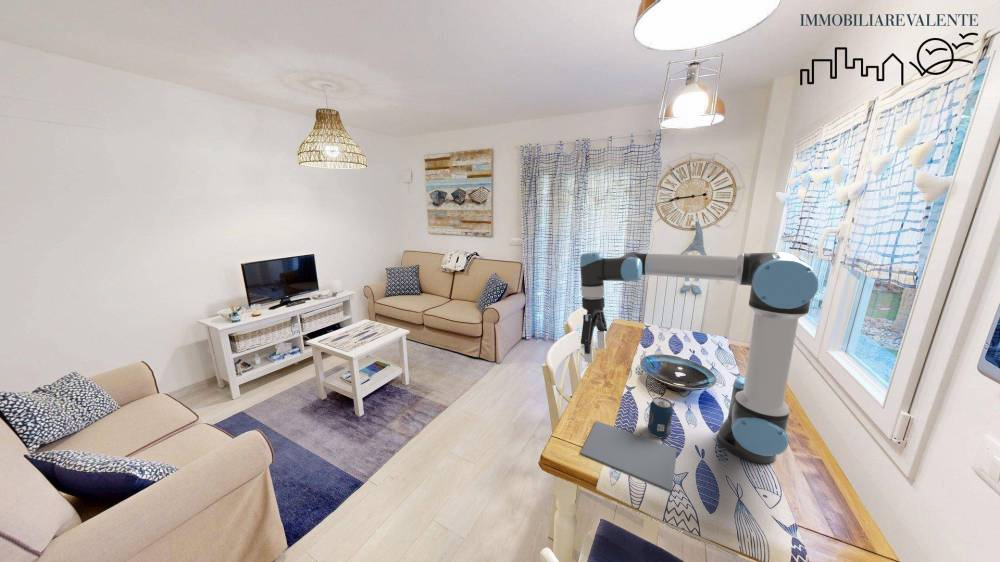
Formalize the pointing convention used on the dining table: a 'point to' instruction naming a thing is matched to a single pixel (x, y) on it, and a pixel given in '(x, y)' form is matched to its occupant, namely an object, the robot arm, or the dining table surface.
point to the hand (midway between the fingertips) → (595, 354)
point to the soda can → (660, 417)
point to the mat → (632, 454)
